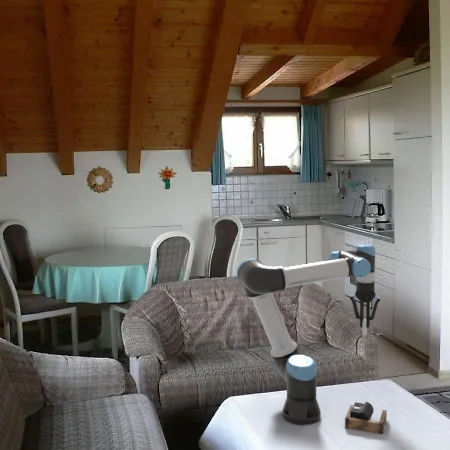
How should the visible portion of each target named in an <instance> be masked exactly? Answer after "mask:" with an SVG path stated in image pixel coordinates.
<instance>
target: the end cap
mask: <svg viewBox="0 0 450 450" xmlns="http://www.w3.org/2000/svg"><path fill="white" fill-rule="evenodd" d="M353 406H354V408H352V409H351V411H350V416H354V417H353V418H358V419H365V420H371V418H372V417H373V414H374V411H375V409H374V406H373V405H372V404H371V403H370V402H368V401H366V402H364V403H362V402H357V401H356V402H354V404H353ZM356 407H357V408H356Z"/></svg>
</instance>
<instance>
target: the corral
mask: <svg viewBox="0 0 450 450" xmlns="http://www.w3.org/2000/svg"><path fill="white" fill-rule="evenodd" d="M352 408H355V406H354V404H352V405H349V407H348V410H347V412H346V415H345V418H344V429H348V430H353V431H359V432H360V431H361V432H365V433H372V434H376V435H377V434H379V435H383V434H384V430H385V426H386V423H387V409H386V410H385V409H382V412H381V415H380V419H379V421H377V420H371V419H370V420H365V419H358V418H354V416H350V411H351V409H352Z"/></svg>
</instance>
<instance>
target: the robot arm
mask: <svg viewBox="0 0 450 450" xmlns="http://www.w3.org/2000/svg"><path fill="white" fill-rule="evenodd" d="M375 272H376V247H375V246H374V245H373V244H367V243H362V244H357V245H356V249H354V250H353V249H352V250H337V251H336V250H335V251H331V252H330V253H329V256H328V260H326V261H325V260H324V261H318V262H314V263H312V262H311V263H308V264H301V265H293V266H289V267H283V266H281V265H278V266H269V265H267V264H264V263H263V262H262V261H261V260H259V259H257V258H256V259H255V258H247V259H245V260H243V261H242V262H241V263H240V264H239V265H238V267H237V269H236V277H237V280H238V282H239V283H241V286H242V288H243V290H244V292H245V295H246V297H247V298H248V299H250V300H252V302H253V305H254V307H255V309H256V312H257V314H258V317H259V319H260V322H261V324H262V326H263V328H264V332H265V334H266V336H267V339H268V342H269V343H270V346H271V348H272V349H271V351H270V355H271V359H272V364H273V367H274V369H275V371H276V372H277V373H278V374H279V375H281V377H282V378H283V379H284V381H285V382H286V398H285V403H284V404H283V407H282V418H283V419H284V420H285V421H287V422H289V423H290V424H295V425H300V426H303V425H305V426H306V425H312V424H316V423H318V422H319V421H320V420H321V416H322V415H321V413H322V412H321V408H320V405H319V402H318V398H317V375H318V374H317V373H318V372H317V371H318V369H317V363H316V361H315V360H314V358H312V357H310V356H307V355H304V354H302V353H301V351H300V349H299V346H298V344H297V342H296V341H293V340H292V339H291V336H290V334H289V330H288V328H287V326H286V323H285V321H284V318H283V316H282V313H281V311H280V309H279V306H278V303H277V301H276V299H275V296H274V294H273V293H278V292H284V291H286V290H287V288H293V287H298V286H303V285H309V284H315V283H321V282H326V281H333V280H338V279H344V278H350V277H355V278H356V281H355V283H356V287H355V288H356V289H355V293H354V294H351V295H350V296H349V299H350V301H351V304H352V307H353V308H352V309H353V312H354V315H355V318H356V319H357V320H359V328H362V330H361V331H362V336H363V337H366V336H367V335H368V329H369V328H370V322H371V321H373V320H374V319H375V316H376V313H377V308H378V305H379V303H380V301H381V300H382V298H381V297H378V296H377V294H376V291H375V279H376V278H375V277H376V275H375V274H376V273H375ZM356 299H357V300H358V301H359V308H358V303H357V300H356ZM373 300H374V305H373V308H372V312H371V302H372V301H373ZM365 304H366V305H365ZM365 307H366V311H365ZM364 312H365V313H366V314H364ZM364 315H365V316H364Z"/></svg>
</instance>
